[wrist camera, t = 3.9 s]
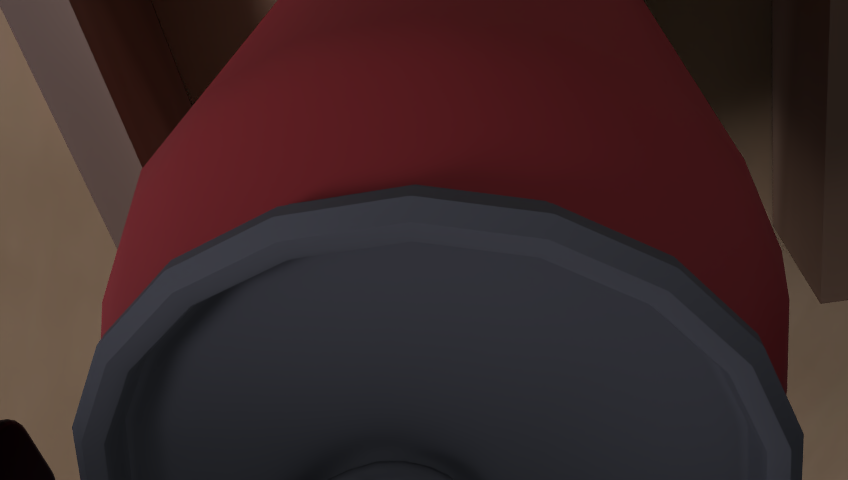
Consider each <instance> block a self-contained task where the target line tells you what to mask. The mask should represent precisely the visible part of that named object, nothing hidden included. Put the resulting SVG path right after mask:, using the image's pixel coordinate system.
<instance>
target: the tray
mask: <svg viewBox="0 0 848 480" xmlns="http://www.w3.org/2000/svg"><path fill="white" fill-rule="evenodd" d="M0 7H1V9H2V11H3V13H4V15H5V17H6V19H7V21H8V24H9V26H10V28H11V30H12V32H13V34H14V36H15V38H16V40H17V42H18V44H19V46H20V48H21V50H22V53H23V55H24V57H25V59H26V61H27V63H28V65H29V67H30V69H31V71H32V73H33V75H34V77H35V80H36V82H37V84H38V86H39V88H40V90H41V92H42V94H43V96H44V98H45V100H46V102H47V104H48V106H49V109H50V111H51V113H52V115H53V117H54V119H55V121H56V123H57V125H58V127H59V129H60V131H61V133H62V135H63V138H64V140H65V142H66V144H67V146H68V148H69V150H70V152H71V154H72V156H73V158H74V160H75V162H76V164H77V167H78V169H79V171H80V173H81V175H82V177H83V179H84V181H85V183H86V185H87V187H88V189H89V191H90V193H91V196H92V198H93V200H94V202H95V204H96V206H97V208H98V210H99V212H100V214H101V216H102V218H103V220H104V223H105V225H106V227H107V229H108V231H109V233H110V235H111V237H112V239H113V241H114V243H115V245H116V247H117V249H118V247H119V243H120V240H121V237H122V233H123V230H124V226H125V223H126V220H127V216H128V213H129V209H130V206H131V203H132V199H133V196H134V192H135V189H136V186H137V182H138V179H139V175H140V172H141V169H142V168H143V167H144V166H145V164H146V163H147V162H148V161H149V159H150V158H151V157H152V156H153V154H154V153H155V152H156V151H157V149H158V148H159V147H160V146H161V145H162V143H163V142H164V141H165V140H166V138H167V137H168V136H169V135H170V133H171V132H172V131H173V130H174V128H175V127H176V126H177V125H178V123H179V122H180V121H181V120H182V118H183V117H184V116H185V115H186V113H187V112H188V111H189V110H190V109H191V107H192V106H191V103H190V100H189V98H188V95H187V93H186V90H185V88H184V85H183V82H182V80H181V77H180V75H179V72H178V70H177V67H176V64H175V62H174V59H173V57H172V54H171V51H170V49H169V46H168V44H167V41H166V39H165V36H164V33H163V31H162V28H161V26H160V23H159V21H158V18H157V15H156V13H155V10H154V8H153V5H152V2H151V0H0ZM772 136H773V226H774V228H775V230H776V231H777V233H778V235H779V236H780V238H781V240H782V241H783V243H784V245H785V246H786V248H787V249H788V251H789V253H790V254H791V256H792V258H793V259H794V261H795V263H796V264H797V266H798V268H799V269H800V271H801V272H802V274H803V276H804V277H805V279H806V281H807V282H808V284H809V286H810V287H811V289H812V291H813V292H814V294H815V295H816V297H817V299H818V300H819V302H820V304H822V303H829V302H837V301H844V300H848V0H772Z"/></svg>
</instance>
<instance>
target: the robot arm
mask: <svg viewBox="0 0 848 480" xmlns="http://www.w3.org/2000/svg"><path fill="white" fill-rule="evenodd" d="M0 480H55V477H54V474H53V472H52V471H51V469H50V467H49V466H48V464H47V463H46V461H45V460H44V458H43V456H42V455H41V453H40V452H39V450H38V448H37V447H36V445H35V444H34V442H33V441H32V439H31V437H30V436H29V434H28V433H27V431H26V430H25V428H24V427H23V426H22V425H21V424H19V423H18V422H16V421H15V420H9V419H5V420H0Z"/></svg>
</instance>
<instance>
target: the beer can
mask: <svg viewBox="0 0 848 480" xmlns="http://www.w3.org/2000/svg"><path fill="white" fill-rule="evenodd" d="M788 332H789V295H788V289H787V282H786V276H785V269H784V263H783V257H782V250H781V248H780V246H779V243H778V241H777V238H776V236H775V233H774V231H773V228H772V226H771V224H770V221H769V219H768V216H767V214H766V211H765V209H764V206H763V204H762V202H761V199H760V197H759V194H758V192H757V189H756V187H755V184H754V182H753V180H752V177H751V175H750V172H749V170H748V167H747V165H746V162H745V160H744V158H743V157H742V155H741V154H740V152H739V151H738V149H737V147H736V146H735V144H734V143H733V141H732V140H731V138H730V136H729V135H728V133H727V132H726V130H725V128H724V127H723V125H722V124H721V122H720V121H719V119H718V117H717V116H716V114H715V113H714V111H713V110H712V108H711V106H710V105H709V103H708V102H707V100H706V99H705V97H704V95H703V94H702V92H701V91H700V89H699V87H698V86H697V84H696V83H695V81H694V80H693V78H692V76H691V75H690V73H689V72H688V70H687V69H686V67H685V65H684V64H683V62H682V61H681V59H680V58H679V56H678V54H677V53H676V51H675V50H674V48H673V46H672V45H671V43H670V42H669V40H668V39H667V37H666V35H665V34H664V32H663V31H662V29H661V28H660V26H659V24H658V23H657V21H656V20H655V18H654V17H653V15H652V13H651V12H650V10H649V9H648V7H647V5H646V4H645V2H644V1H643V0H278V1H277V2H276V3H275V4H274V6H273V7H272V8H271V9H270V11H269V12H268V13H267V14H266V16H265V17H264V18H263V19H262V20H261V22H260V23H259V24H258V25H257V27H256V28H255V29H254V30H253V32H252V33H251V34H250V35H249V37H248V38H247V39H246V40H245V42H244V43H243V44H242V45H241V47H240V48H239V49H238V50H237V51H236V53H235V54H234V55H233V56H232V58H231V59H230V60H229V61H228V63H227V64H226V65H225V66H224V68H223V69H222V70H221V71H220V73H219V74H218V75H217V76H216V78H215V79H214V80H213V81H212V82H211V84H210V85H209V86H208V87H207V89H206V90H205V91H204V92H203V94H202V95H201V96H200V97H199V99H198V100H197V101H196V102H195V104H194V105H193V106H192V107H191V109H190V110H189V111H188V112H187V113H186V115H185V116H184V117H183V118H182V120H181V121H180V122H179V123H178V125H177V126H176V127H175V128H174V130H173V131H172V132H171V133H170V135H169V136H168V137H167V138H166V140H165V141H164V142H163V143H162V145H161V146H160V147H159V148H158V149H157V151H156V152H155V153H154V154H153V156H152V157H151V158H150V159H149V161H148V162H147V163H146V164H145V166H144V167H143V168H142V169H141V172H140V175H139V179H138V182H137V186H136V189H135V192H134V196H133V199H132V203H131V206H130V209H129V213H128V216H127V220H126V223H125V226H124V230H123V233H122V237H121V240H120V243H119V247H118V250H117V254H116V257H115V260H114V264H113V267H112V271H111V274H110V278H109V281H108V284H107V288H106V291H105V295H104V298H103V302H102V327H101V340H100V341H99V343H98V344H97V346H96V350H95V353H94V356H93V360H92V363H91V366H90V370H89V373H88V376H87V380H86V383H85V386H84V390H83V393H82V396H81V400H80V403H79V406H78V410H77V413H76V416H75V420H74V423H73V426H72V430H73V436H74V442H75V448H76V455H77V461H78V467H79V473H80V479H81V480H802V462H803V438H804V434H803V432H802V429H801V427H800V425H799V423H798V421H797V418H796V416H795V414H794V412H793V409H792V407H791V405H790V403H789V401H788V398H787V396H786V393H787V370H788Z"/></svg>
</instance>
